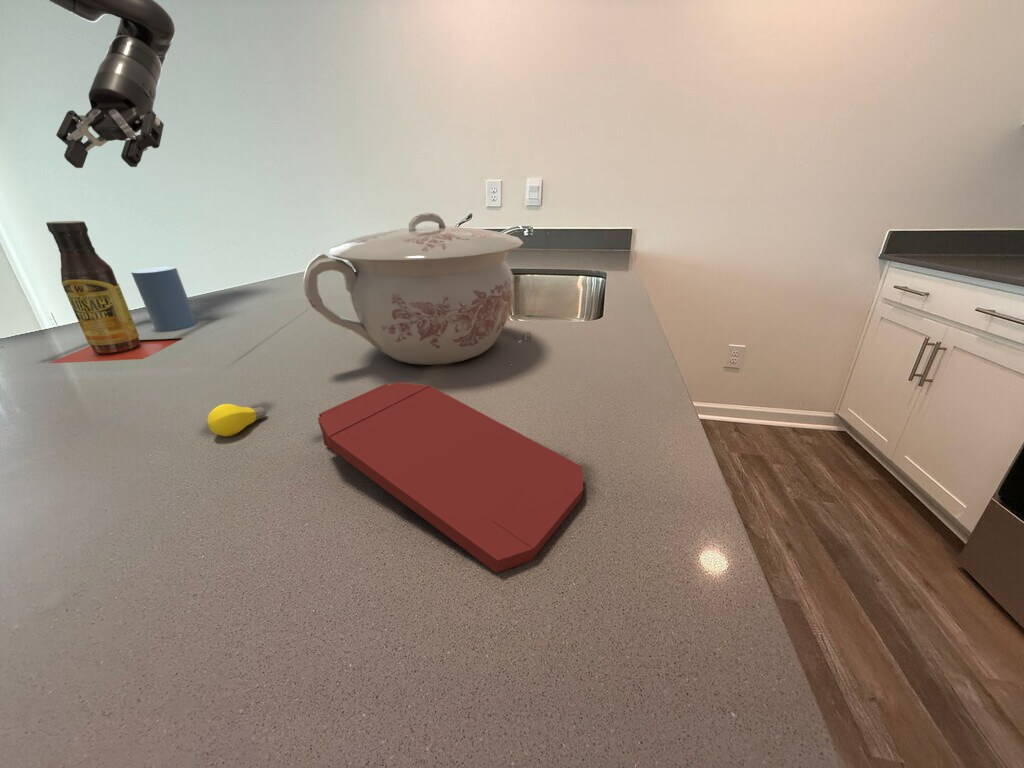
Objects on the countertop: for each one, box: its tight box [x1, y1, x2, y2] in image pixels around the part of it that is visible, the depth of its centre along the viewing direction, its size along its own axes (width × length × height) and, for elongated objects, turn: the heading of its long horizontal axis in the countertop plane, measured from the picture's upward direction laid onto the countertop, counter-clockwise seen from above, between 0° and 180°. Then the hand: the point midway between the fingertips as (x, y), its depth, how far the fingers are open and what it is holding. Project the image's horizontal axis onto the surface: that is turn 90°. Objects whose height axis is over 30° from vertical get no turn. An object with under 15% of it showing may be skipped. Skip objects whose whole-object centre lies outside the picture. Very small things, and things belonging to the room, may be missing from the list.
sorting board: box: [49, 337, 184, 364], centre depth 72 cm, size 14×20×1 cm
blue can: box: [130, 266, 198, 333], centre depth 75 cm, size 6×6×11 cm
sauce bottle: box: [45, 220, 141, 354], centre depth 63 cm, size 7×6×20 cm
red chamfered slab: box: [317, 381, 584, 574], centre depth 38 cm, size 12×5×25 cm
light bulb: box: [206, 403, 267, 437], centre depth 45 cm, size 3×6×4 cm, turn 156°
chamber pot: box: [302, 212, 524, 366], centre depth 62 cm, size 28×28×21 cm
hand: (101, 163), depth 66 cm, fingers open, 8 cm apart
